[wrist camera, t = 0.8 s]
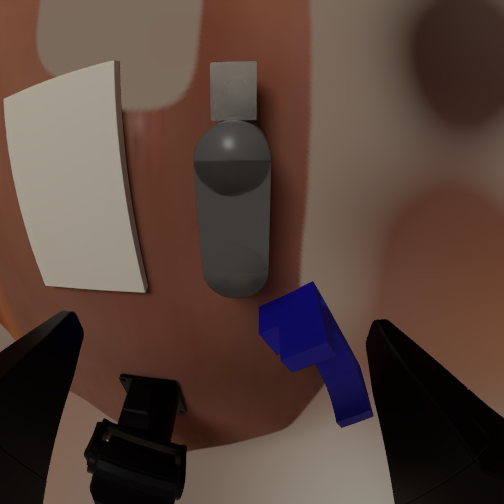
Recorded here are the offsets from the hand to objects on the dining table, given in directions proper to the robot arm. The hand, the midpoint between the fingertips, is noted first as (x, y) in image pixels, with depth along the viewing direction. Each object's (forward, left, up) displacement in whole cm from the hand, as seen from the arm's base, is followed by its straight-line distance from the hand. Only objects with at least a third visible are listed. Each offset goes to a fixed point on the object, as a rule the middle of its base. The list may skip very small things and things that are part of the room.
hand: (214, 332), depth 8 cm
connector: (+2, 0, -11) cm, 12 cm away
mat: (+1, +12, -11) cm, 17 cm away
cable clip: (-13, -6, -12) cm, 18 cm away
